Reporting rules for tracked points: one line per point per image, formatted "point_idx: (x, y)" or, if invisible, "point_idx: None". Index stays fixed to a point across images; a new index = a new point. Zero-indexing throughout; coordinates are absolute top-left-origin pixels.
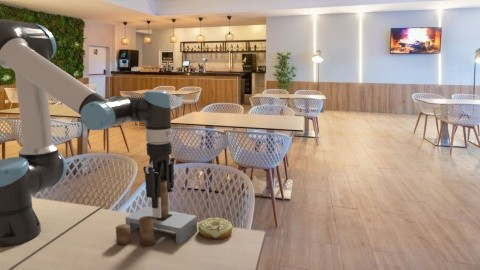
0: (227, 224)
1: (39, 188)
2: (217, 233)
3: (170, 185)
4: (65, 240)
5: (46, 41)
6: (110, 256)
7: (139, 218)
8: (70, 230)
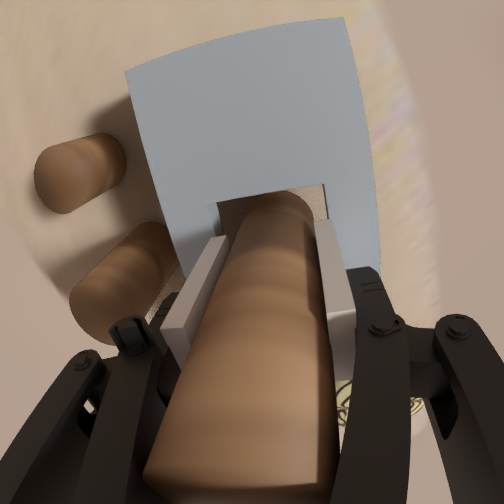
0: None
1: None
2: None
3: (431, 396)
4: (14, 6)
5: None
6: (39, 213)
7: (165, 156)
8: None
